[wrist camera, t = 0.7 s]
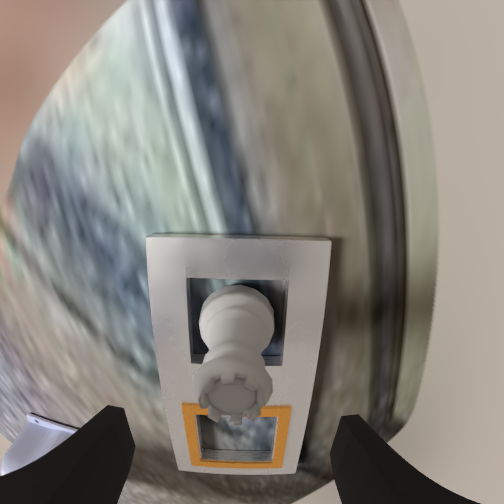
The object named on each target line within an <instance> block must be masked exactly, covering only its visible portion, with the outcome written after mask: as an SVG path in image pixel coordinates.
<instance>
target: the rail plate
mask: <svg viewBox="0 0 504 504" xmlns="http://www.w3.org/2000/svg"><path fill="white" fill-rule="evenodd" d="M331 242H332V241H330V240H329V239H327V238H326V237H297V236H262V235H220V234H158V233H152V234H151V235H149V236H147V237H146V250H147V268H148V282H149V295H150V306H151V316H152V325H153V334H154V342H155V350H156V357H157V364H158V371H159V377H160V383H161V389H162V395H163V401H164V406H165V412H166V417H167V422H168V427H169V431H170V436H171V441H172V445H173V449H174V454H175V458H176V462H177V466H178V470H182V471H191V472H201V473H215V474H236V475H271V474H292V473H296V469H297V464H298V460H299V456H300V451H301V447H302V442H303V438H304V433H305V428H306V423H307V418H308V413H309V408H310V403H311V397H312V392H313V386H314V380H315V374H316V368H317V362H318V355H319V349H320V342H321V335H322V327H323V320H324V312H325V303H326V295H327V285H328V276H329V265H330V254H331ZM190 278H213V279H251V280H286V286H285V301H284V315H283V329H282V341H281V353H280V356H262V357H263V359H264V360H265V369H266V371H267V372H268V374H269V375H270V377H271V378H272V383H273V393H272V395H271V397H270V399H269V401H268V403H266V404H265V406H263V407H262V408H261V415H260V416H259V417H274V426H273V435H272V444H271V451H236V450H214V449H203V443H202V435H201V426H200V417H199V415H208V409H207V408H205V409H201V408H200V405H199V401H198V399H197V397H196V396H195V393H194V389H193V385H192V383H193V379H194V376H195V372H196V371H197V370H198V369H199V368H200V367H201V366H202V364H203V360H204V357H205V355H206V354H194V348H193V332H192V314H191V291H190ZM245 417H248V415H247V416H245Z"/></svg>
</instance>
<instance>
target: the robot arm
mask: <svg viewBox="0 0 504 504" xmlns="http://www.w3.org/2000/svg"><path fill="white" fill-rule="evenodd" d="M26 416H27V419H28V421H29V422H28V423H27V425H26V426H25V427H24V429H23V430H22V431H21V433H20V434H19V435H18V437H17V438H16V439H15V441H14V442H13V443H12V445H11V446H10V448H9V449H8V450H7V452H6V453H5V455H4V457H3V460H2V465H1V474H2V476H0V504H117V502H118V500H119V497H120V494H121V492H122V489H123V486H124V484H125V481H126V479H127V476H128V473H129V470H130V467H131V463H132V459H133V454H134V449H135V443H134V440H133V437H132V434H131V431H130V428H129V424H128V421H127V418H126V414H125V411H124V408H121V407H115V406H110V405H107V406H106V407H105V408H104V409H102V410H101V411H100V412H99V413H98V414H96V415H95V416H94V417H93V418H92V419H91V420H89V421H88V422H87V423H86V424H85V425H83V426H82V427H81V428H80V429H79V430H78V429H74V428H71V427H68V426H64V425H61V424H58V423H55V422H52V421H49V420H46V419H44V418H41V417H38V416H35V415H33V414H30V413H28V414H27V415H26ZM330 457H331V464H332V470H333V476H334V480H335V483H336V486H337V489H338V492H339V496H340V499H341V502H342V504H480V503H477V502H474V501H472V500H469V499H466V498H465V497H462V496H460V495H458V494H456V493H454V492H452V491H450V490H448V489H446V488H444V487H442V486H441V485H439V484H437V483H435V482H434V481H433V480H431V479H429V478H428V477H426V476H425V475H424V474H422V473H421V472H419V471H418V470H417V469H416V468H414V467H413V466H412V465H410V464H409V463H408V462H407V461H406V460H404V459H403V458H402V457H401V456H400V455H399V454H398V453H397V452H396V451H394V450H393V449H392V448H391V447H390V446H389V445H388V444H387V443H386V442H385V441H384V440H383V439H382V438H381V437H380V436H379V435H378V434H377V433H376V432H375V431H374V430H373V429H372V428H371V427H370V426H369V425H368V424H367V423H366V422H365V421H364V420H363V419H362V418H361V417H360V416H359V415H358V414H356V415H348V416H341V419H340V422H339V426H338V429H337V432H336V435H335V439H334V442H333V445H332V448H331V451H330Z"/></svg>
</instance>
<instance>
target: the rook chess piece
mask: <svg viewBox="0 0 504 504" xmlns="http://www.w3.org/2000/svg"><path fill="white" fill-rule="evenodd" d="M199 327H200V333H201V337H202V339H203V341H204V342H205V344H206V345H207V347H208V348H209V351H208V353H207V354H206V355H205V357H204V360H203V364H202V366H201V367H200V368H199V369H198V370H197V371H196V372H195V376H194V379H193V383H192V385H193V389H194V393H195V396H196V397H197V399H198V401H199V405H200V408H201V409H205V408H207V409H208V418H210V419H212V420H214V421H215V422H217V423H218V421H219V420H220V419H221V416H223V417H228V418H230V425H242V417H245V416H247V415H248V418H249V419H251V420H252V421H253V420H255V419H256V418H257V417H259V416H260V415H261V408H262V407H263V406H265V404H266V403H268V401H269V399H270V397H271V395H272V393H273V383H272V378H271V377H270V375H269V374H268V372H267V371H266V369H265V360H264V359H263V357H262V356H261V352H262V351H263V350H264V349H265V348H266V347H267V346H268V345H269V343H270V340H271V338H272V335H273V333H274V310H273V308H272V306H271V305H270V303H269V301H268V299H267V298H266V297H265V296H264V295H262V294H261V293H260V292H258V291H257V290H256V289H253V288H250V287H247V286H243V285H232V286H224V287H222V288H220V289H218V290H216V291H214V292H212V293H211V295H210V296H209V297H208V298H207V299H206V300H205V302H204V303H203V306H202V309H201V313H200V319H199Z"/></svg>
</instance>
